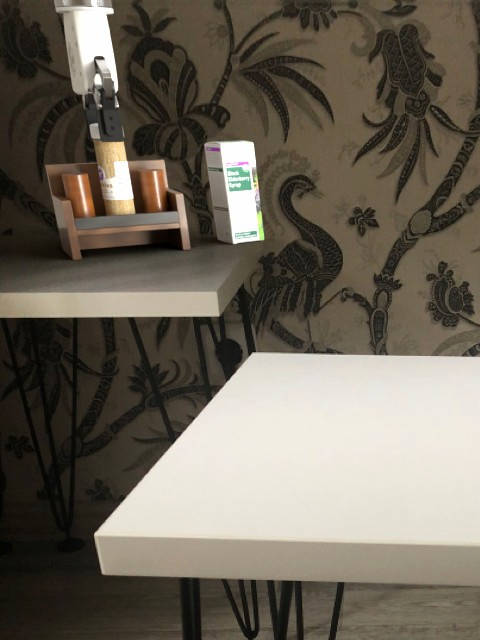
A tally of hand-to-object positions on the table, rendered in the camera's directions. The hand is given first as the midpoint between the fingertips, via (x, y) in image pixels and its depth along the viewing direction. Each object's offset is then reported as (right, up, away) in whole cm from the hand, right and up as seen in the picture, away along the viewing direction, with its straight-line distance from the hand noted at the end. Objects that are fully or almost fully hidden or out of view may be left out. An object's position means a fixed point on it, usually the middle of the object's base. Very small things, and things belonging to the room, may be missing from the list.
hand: (106, 140), depth 133 cm
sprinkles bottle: (0, -10, +6) cm, 11 cm away
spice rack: (0, -13, +8) cm, 15 cm away
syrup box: (+16, -9, +15) cm, 24 cm away
